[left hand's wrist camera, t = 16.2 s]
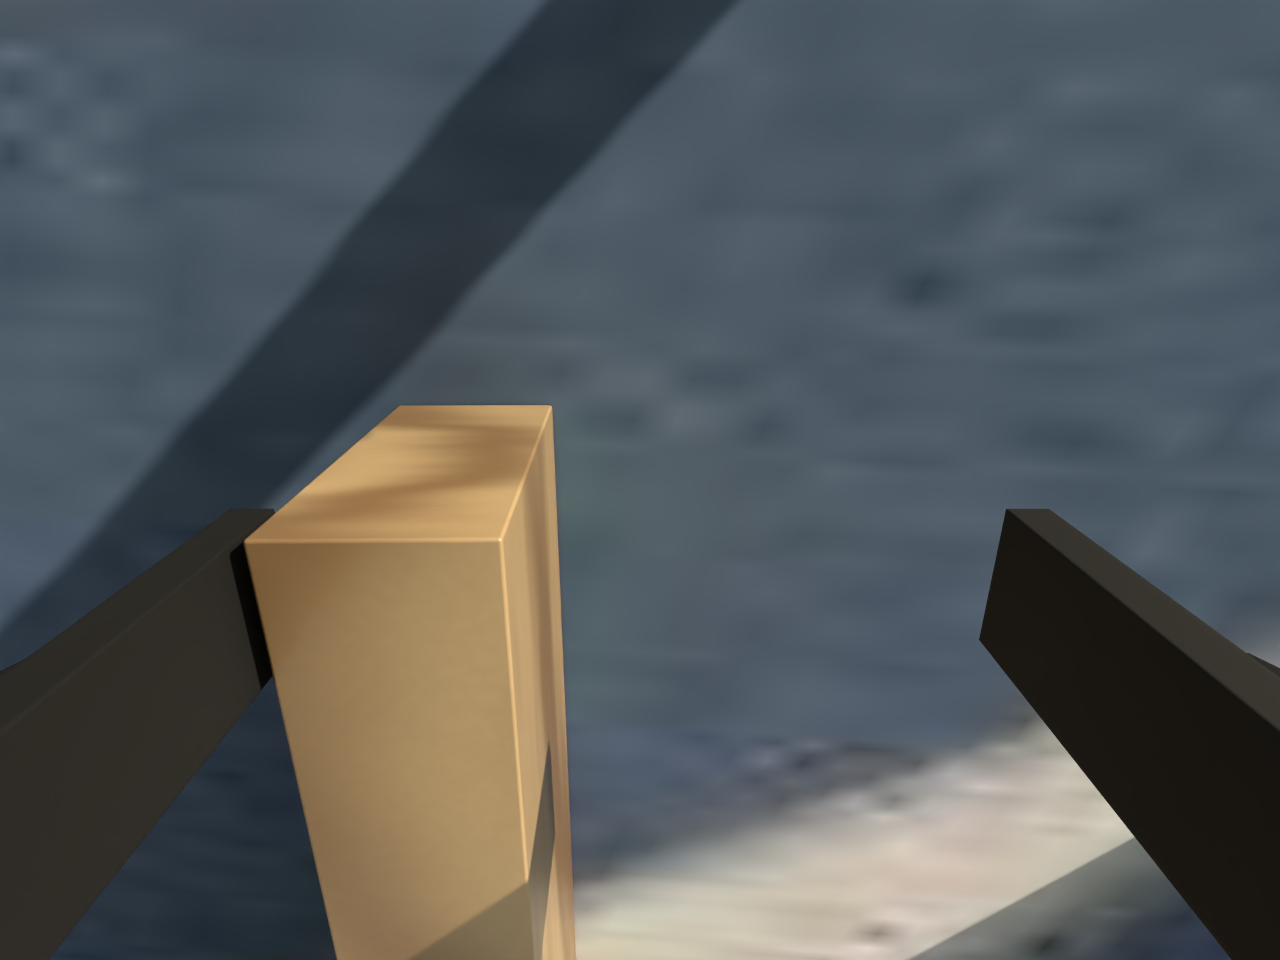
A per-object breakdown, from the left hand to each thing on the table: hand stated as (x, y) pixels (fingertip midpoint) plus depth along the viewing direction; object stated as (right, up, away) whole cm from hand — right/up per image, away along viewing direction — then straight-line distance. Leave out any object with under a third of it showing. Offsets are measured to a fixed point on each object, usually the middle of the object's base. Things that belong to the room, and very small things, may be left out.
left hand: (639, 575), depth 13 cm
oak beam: (-4, -8, +10) cm, 14 cm away
